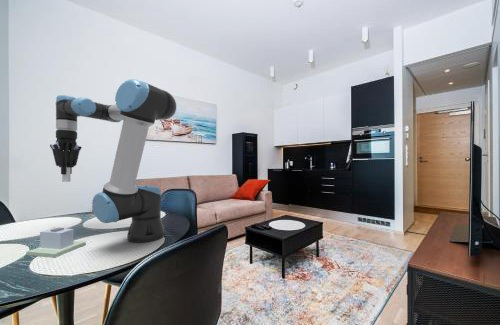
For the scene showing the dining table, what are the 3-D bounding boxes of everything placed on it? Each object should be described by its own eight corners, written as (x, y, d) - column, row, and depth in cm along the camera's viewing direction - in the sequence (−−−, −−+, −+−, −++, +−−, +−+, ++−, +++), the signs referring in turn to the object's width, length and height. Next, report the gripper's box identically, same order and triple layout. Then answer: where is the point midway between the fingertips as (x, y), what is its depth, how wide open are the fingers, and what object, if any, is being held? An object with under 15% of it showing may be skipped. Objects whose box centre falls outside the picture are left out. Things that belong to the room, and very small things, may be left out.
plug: (73, 244, 84) (73, 227, 84) (60, 249, 80) (60, 231, 80) (54, 243, 86) (54, 226, 86) (40, 247, 81) (40, 230, 81)
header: (85, 244, 88) (85, 231, 88) (54, 257, 76) (54, 242, 76) (60, 242, 90) (60, 230, 90) (26, 255, 78) (26, 240, 78)
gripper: (73, 132, 107) (73, 180, 107) (44, 128, 94) (44, 182, 94) (86, 132, 106) (86, 180, 106) (59, 127, 93) (58, 183, 93)
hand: (66, 181), depth 100 cm, fingers closed
